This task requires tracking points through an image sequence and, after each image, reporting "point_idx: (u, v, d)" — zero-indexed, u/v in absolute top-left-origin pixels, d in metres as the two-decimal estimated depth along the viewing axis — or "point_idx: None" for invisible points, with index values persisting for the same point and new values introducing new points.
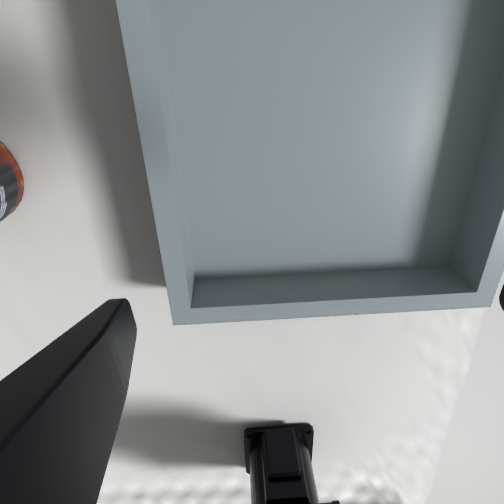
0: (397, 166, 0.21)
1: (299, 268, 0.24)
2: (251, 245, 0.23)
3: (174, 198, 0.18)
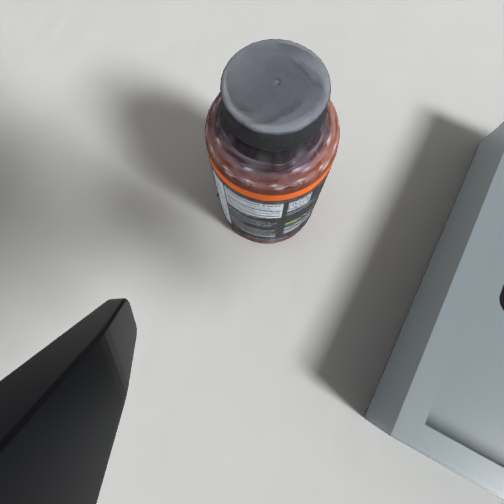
0: None
1: None
2: (479, 406, 0.19)
3: (473, 293, 0.18)
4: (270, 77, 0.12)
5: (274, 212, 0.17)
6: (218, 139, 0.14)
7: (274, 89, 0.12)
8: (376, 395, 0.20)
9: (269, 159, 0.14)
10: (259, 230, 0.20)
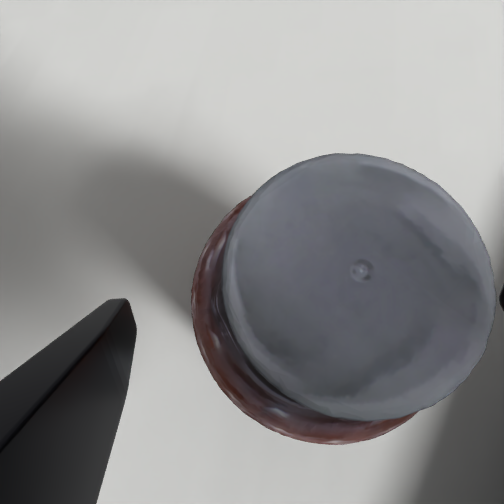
0: None
1: None
2: None
3: None
4: (345, 259, 0.05)
5: None
6: (216, 337, 0.07)
7: (358, 293, 0.05)
8: None
9: None
10: None
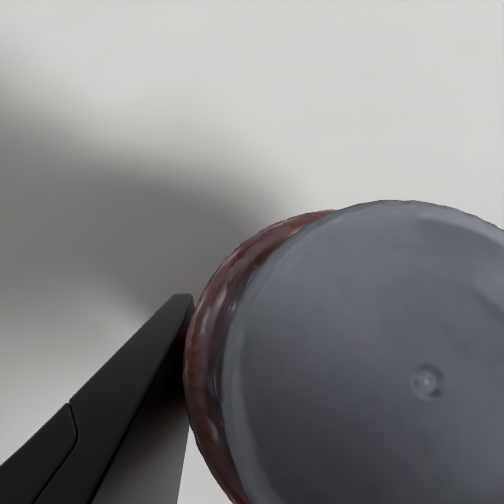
0: None
1: None
2: None
3: None
4: (402, 363, 0.03)
5: None
6: (213, 427, 0.05)
7: (424, 417, 0.03)
8: None
9: None
10: None
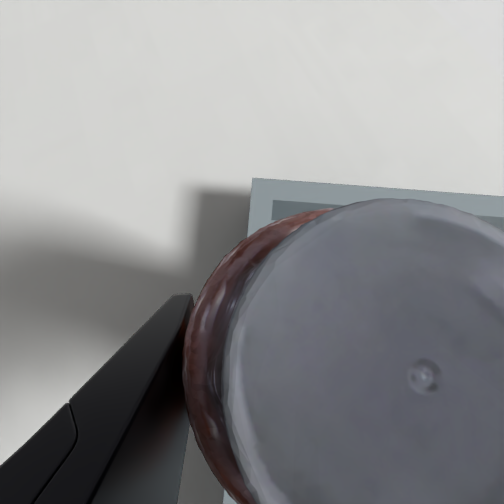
0: None
1: None
2: None
3: None
4: (398, 359, 0.03)
5: None
6: (213, 423, 0.05)
7: (420, 412, 0.03)
8: None
9: None
10: None
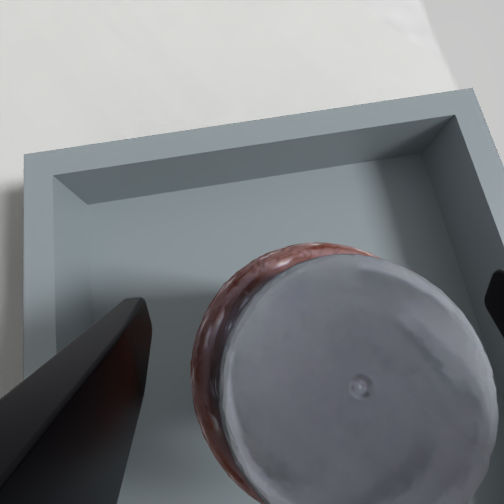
0: None
1: None
2: None
3: None
4: (343, 374, 0.05)
5: None
6: (215, 420, 0.07)
7: (356, 411, 0.05)
8: None
9: None
10: None
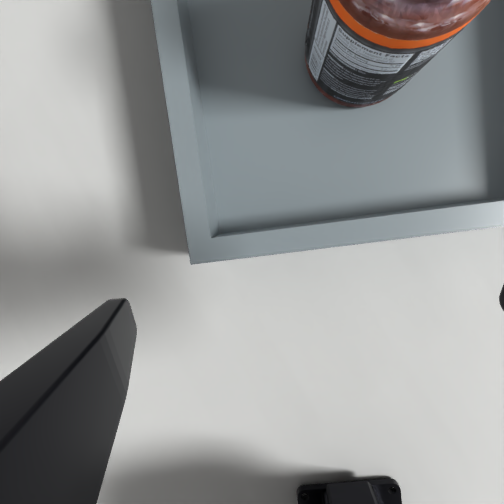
0: (434, 72, 0.19)
1: (341, 210, 0.20)
2: (281, 183, 0.20)
3: (189, 94, 0.17)
4: None
5: (394, 65, 0.13)
6: None
7: None
8: None
9: None
10: (357, 90, 0.16)
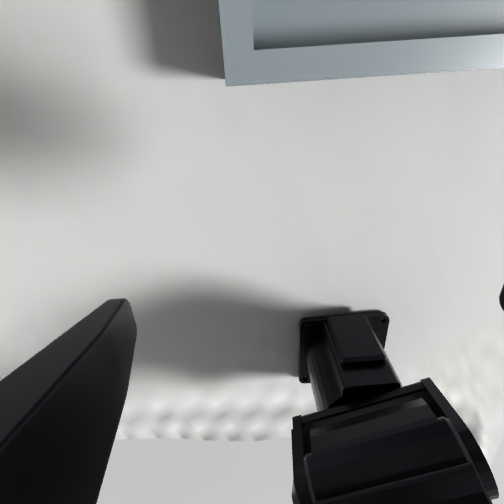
0: None
1: (403, 29, 0.16)
2: None
3: None
4: None
5: None
6: None
7: None
8: None
9: None
10: None
